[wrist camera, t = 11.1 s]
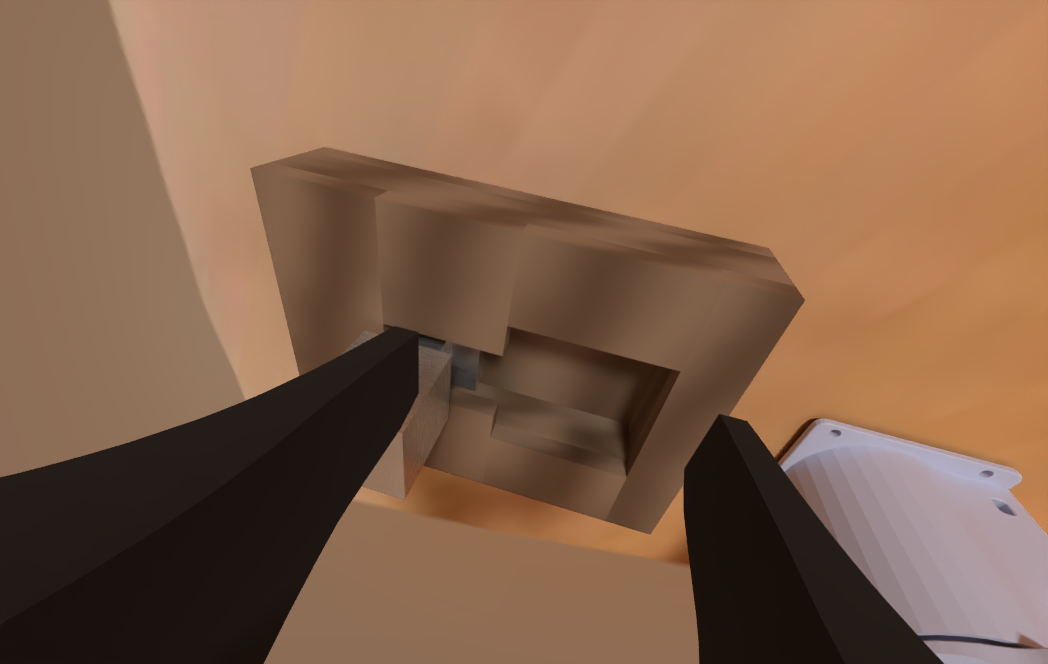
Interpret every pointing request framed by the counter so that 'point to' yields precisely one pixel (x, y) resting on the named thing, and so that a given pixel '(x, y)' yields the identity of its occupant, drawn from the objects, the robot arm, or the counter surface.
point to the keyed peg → (424, 411)
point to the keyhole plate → (531, 321)
